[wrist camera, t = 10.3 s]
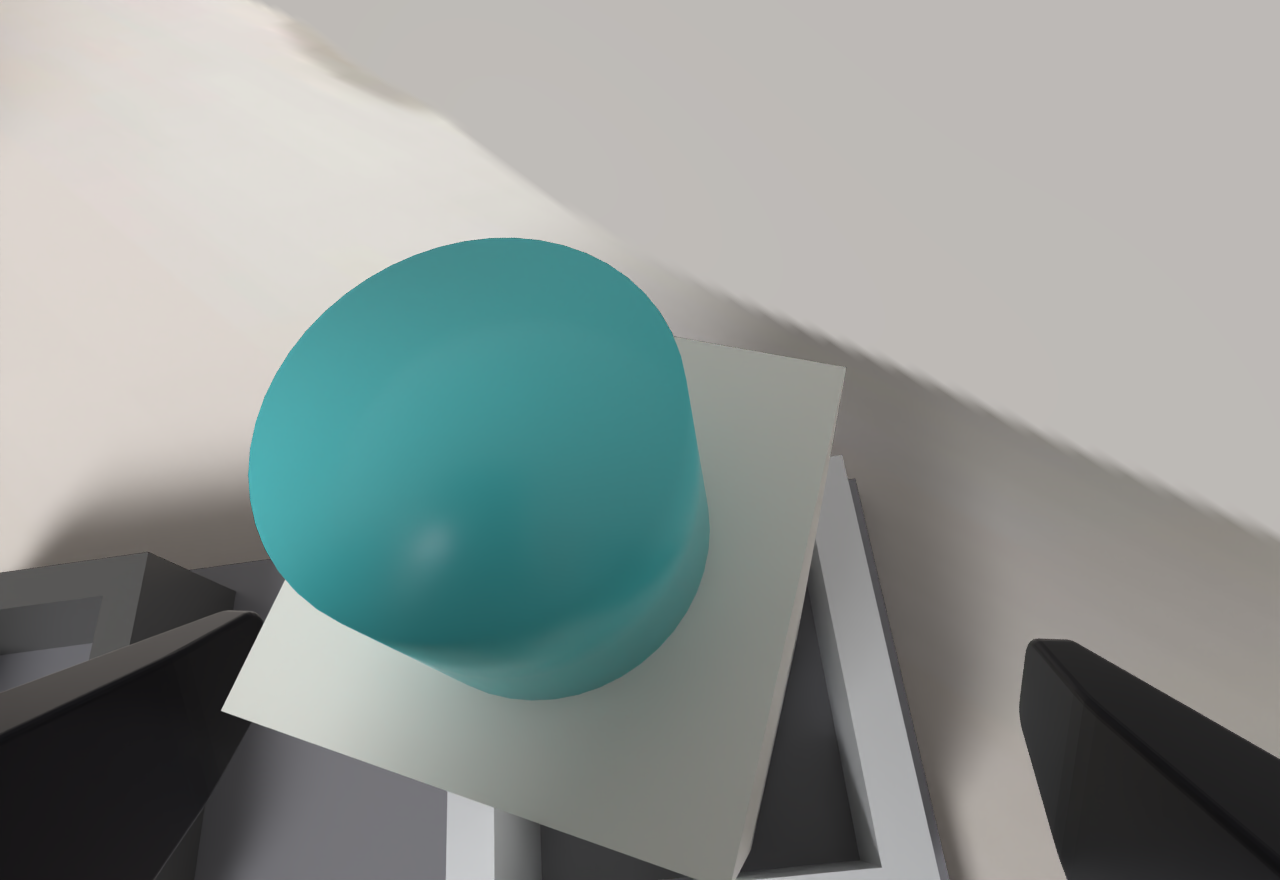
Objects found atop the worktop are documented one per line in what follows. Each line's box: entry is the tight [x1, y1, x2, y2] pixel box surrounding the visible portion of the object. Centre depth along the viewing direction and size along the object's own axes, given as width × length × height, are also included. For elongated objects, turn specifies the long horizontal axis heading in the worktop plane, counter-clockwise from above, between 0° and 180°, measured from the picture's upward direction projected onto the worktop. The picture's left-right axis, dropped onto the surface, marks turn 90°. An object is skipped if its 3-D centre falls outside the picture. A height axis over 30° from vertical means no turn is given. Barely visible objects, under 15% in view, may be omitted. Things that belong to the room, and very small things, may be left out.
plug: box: [221, 238, 847, 880], centre depth 10 cm, size 4×4×13 cm
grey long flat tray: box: [0, 455, 950, 880], centre depth 16 cm, size 9×23×4 cm, turn 95°
